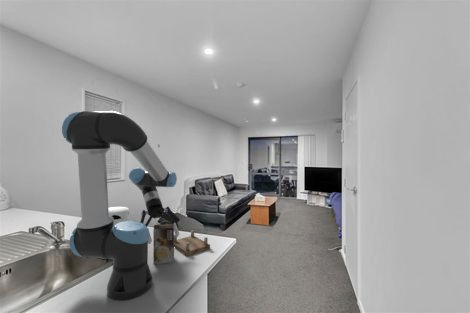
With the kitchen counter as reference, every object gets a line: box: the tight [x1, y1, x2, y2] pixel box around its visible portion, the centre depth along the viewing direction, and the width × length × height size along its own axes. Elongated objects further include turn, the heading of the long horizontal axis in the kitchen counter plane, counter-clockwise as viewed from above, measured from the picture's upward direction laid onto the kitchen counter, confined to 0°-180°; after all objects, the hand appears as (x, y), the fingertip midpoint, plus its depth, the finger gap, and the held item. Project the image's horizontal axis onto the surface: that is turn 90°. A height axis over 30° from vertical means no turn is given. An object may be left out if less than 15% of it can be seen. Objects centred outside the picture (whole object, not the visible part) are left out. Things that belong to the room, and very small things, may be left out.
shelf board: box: [174, 230, 211, 257], centre depth 118 cm, size 14×17×6 cm
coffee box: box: [152, 223, 175, 265], centre depth 102 cm, size 9×6×16 cm
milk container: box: [108, 206, 130, 226], centre depth 122 cm, size 17×17×18 cm
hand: (164, 239), depth 104 cm, fingers open, 13 cm apart
